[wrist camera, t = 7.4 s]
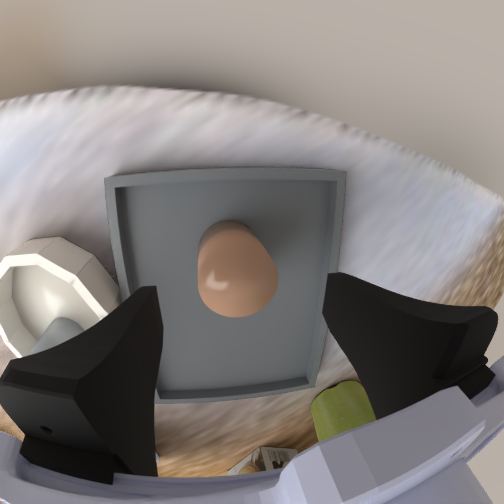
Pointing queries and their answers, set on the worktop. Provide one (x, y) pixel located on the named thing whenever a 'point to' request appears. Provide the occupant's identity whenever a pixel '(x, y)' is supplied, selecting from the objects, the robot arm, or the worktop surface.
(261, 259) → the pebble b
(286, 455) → the coffee box
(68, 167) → the worktop surface
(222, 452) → the worktop surface
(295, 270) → the tray
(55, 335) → the grey rounded cylinder
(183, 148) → the worktop surface
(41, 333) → the bowl
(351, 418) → the plant pot
